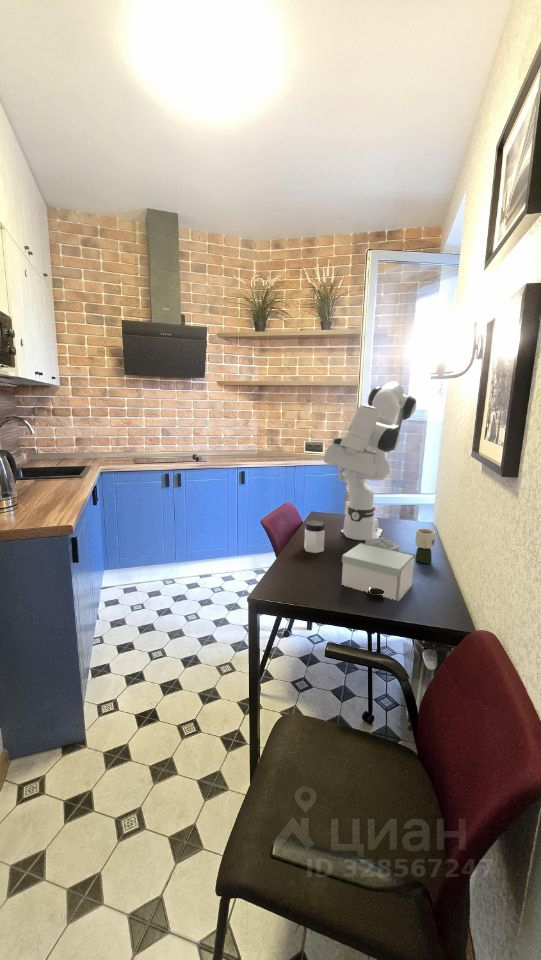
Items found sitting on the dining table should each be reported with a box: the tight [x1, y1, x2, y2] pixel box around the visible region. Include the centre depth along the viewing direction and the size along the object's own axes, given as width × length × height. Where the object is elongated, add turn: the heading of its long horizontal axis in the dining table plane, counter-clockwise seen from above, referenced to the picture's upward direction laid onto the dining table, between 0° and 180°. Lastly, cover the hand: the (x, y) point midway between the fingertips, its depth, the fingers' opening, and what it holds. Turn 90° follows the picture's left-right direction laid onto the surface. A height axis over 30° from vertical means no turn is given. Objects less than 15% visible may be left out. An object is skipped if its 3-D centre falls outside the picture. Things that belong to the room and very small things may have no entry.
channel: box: [341, 542, 416, 602], centre depth 143 cm, size 15×20×12 cm
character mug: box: [414, 528, 436, 564], centre depth 165 cm, size 11×7×13 cm, turn 168°
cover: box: [341, 543, 413, 577], centre depth 141 cm, size 15×20×2 cm
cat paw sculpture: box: [364, 537, 400, 551], centre depth 166 cm, size 10×13×9 cm
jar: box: [303, 519, 326, 554], centre depth 177 cm, size 9×8×12 cm
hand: (341, 481), depth 153 cm, fingers closed
